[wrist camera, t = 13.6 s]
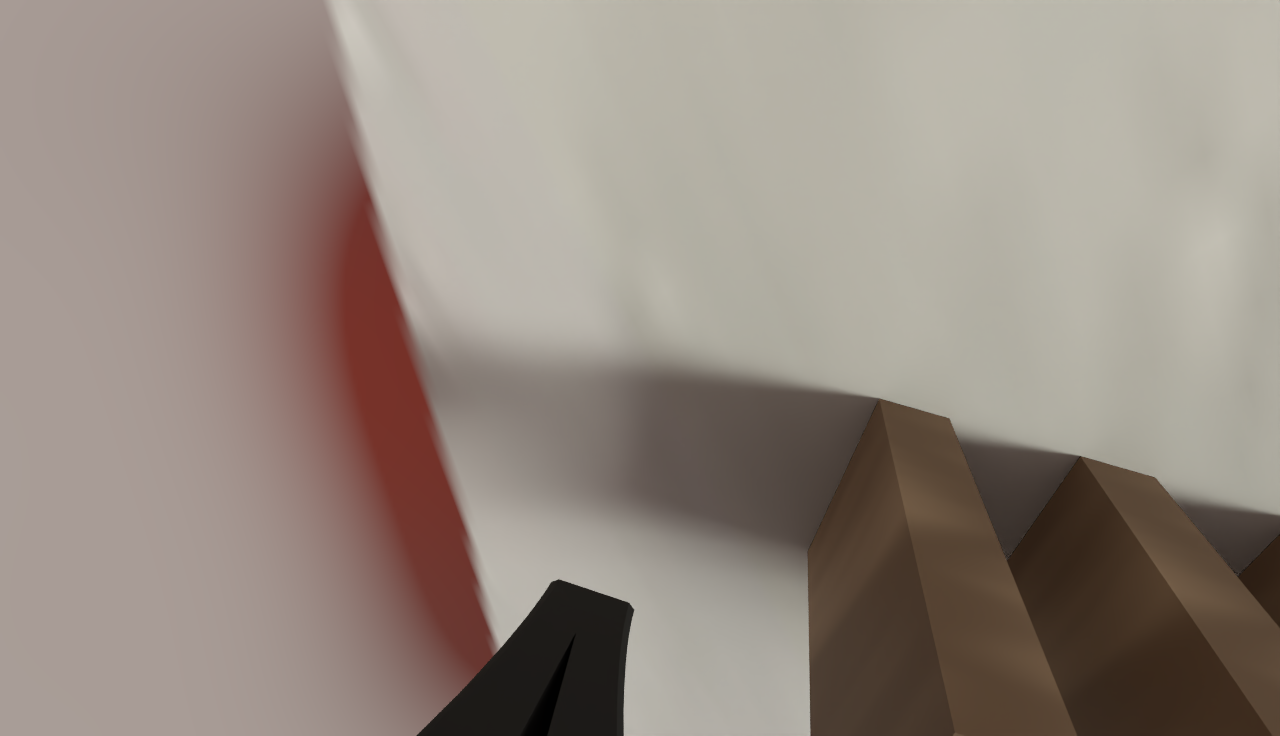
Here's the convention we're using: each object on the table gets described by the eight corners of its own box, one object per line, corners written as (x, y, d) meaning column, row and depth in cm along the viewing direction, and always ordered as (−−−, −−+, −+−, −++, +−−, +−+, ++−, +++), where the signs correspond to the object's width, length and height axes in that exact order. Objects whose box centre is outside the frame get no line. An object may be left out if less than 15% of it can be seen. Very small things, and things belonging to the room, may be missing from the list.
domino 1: (949, 418, 14) (1095, 779, 7) (866, 570, 16) (914, 948, 10) (879, 398, 14) (955, 732, 7) (807, 551, 17) (813, 910, 10)
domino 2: (1155, 477, 14) (1524, 924, 7) (1038, 624, 16) (1219, 1063, 9) (1080, 456, 14) (1364, 870, 7) (976, 605, 16) (1108, 1021, 9)
